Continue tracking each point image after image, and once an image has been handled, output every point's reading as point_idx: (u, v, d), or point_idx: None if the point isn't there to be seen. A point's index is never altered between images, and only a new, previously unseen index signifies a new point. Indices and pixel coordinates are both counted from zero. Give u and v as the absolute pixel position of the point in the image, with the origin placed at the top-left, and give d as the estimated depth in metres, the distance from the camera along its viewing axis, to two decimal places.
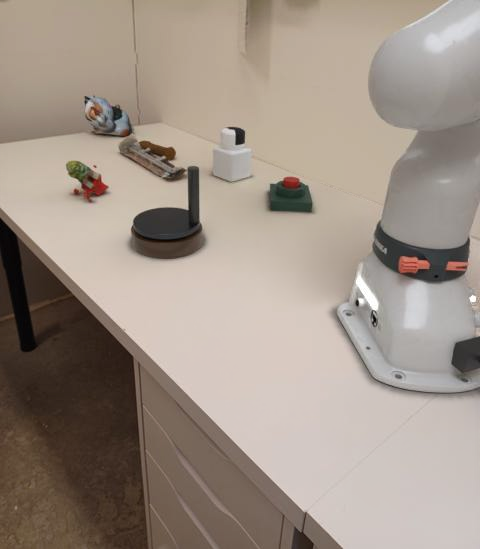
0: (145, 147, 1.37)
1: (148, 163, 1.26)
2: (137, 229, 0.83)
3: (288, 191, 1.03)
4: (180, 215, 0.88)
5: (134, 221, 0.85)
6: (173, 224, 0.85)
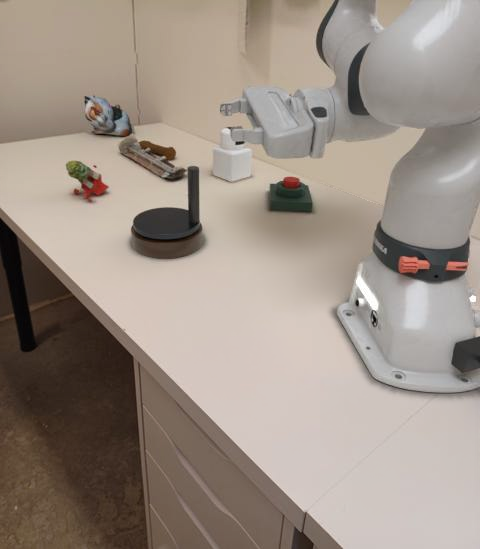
0: (145, 147, 1.37)
1: (148, 163, 1.26)
2: (137, 229, 0.83)
3: (288, 191, 1.03)
4: (180, 215, 0.88)
5: (134, 221, 0.85)
6: (173, 224, 0.85)
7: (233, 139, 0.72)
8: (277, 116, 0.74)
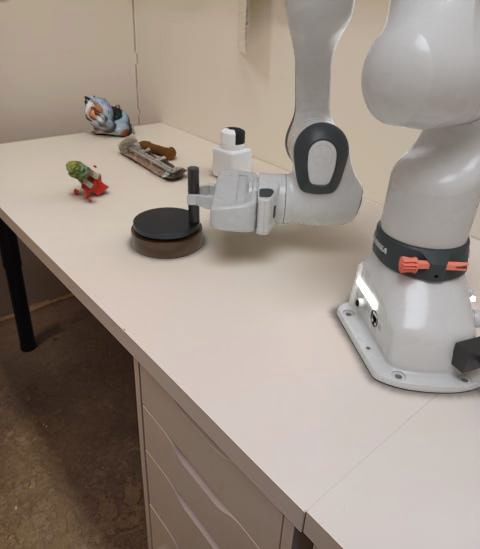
0: (145, 147, 1.37)
1: (148, 163, 1.26)
2: (137, 229, 0.83)
3: None
4: (180, 215, 0.88)
5: (134, 221, 0.85)
6: (173, 224, 0.85)
7: (188, 202, 0.82)
8: (231, 194, 0.80)
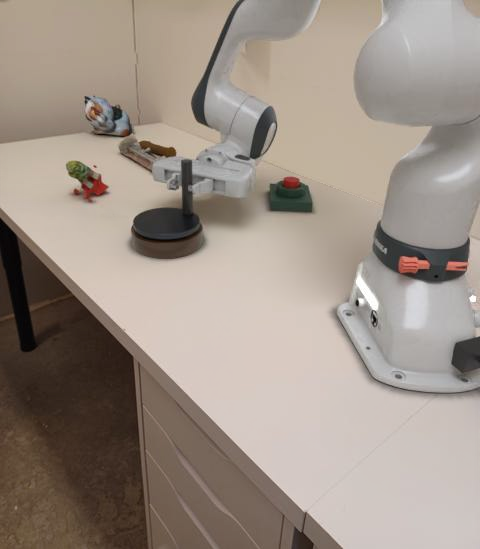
0: (145, 147, 1.37)
1: (148, 163, 1.26)
2: (160, 235, 0.81)
3: (288, 191, 1.03)
4: (168, 213, 0.89)
5: (145, 231, 0.82)
6: (179, 220, 0.86)
7: (195, 193, 0.85)
8: (216, 170, 0.90)
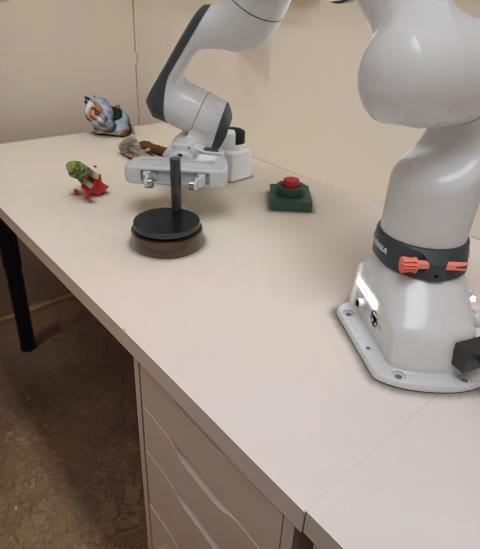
0: (145, 147, 1.37)
1: None
2: (178, 234, 0.82)
3: (288, 191, 1.03)
4: (159, 213, 0.88)
5: (161, 233, 0.81)
6: (179, 218, 0.87)
7: (196, 189, 0.87)
8: (194, 164, 0.93)
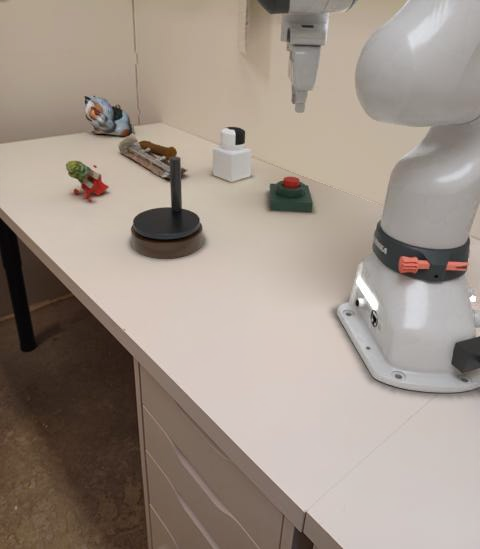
0: (146, 147, 1.37)
1: (148, 163, 1.26)
2: (178, 234, 0.82)
3: (288, 191, 1.03)
4: (159, 213, 0.88)
5: (161, 233, 0.81)
6: (179, 218, 0.87)
7: (302, 111, 0.92)
8: None
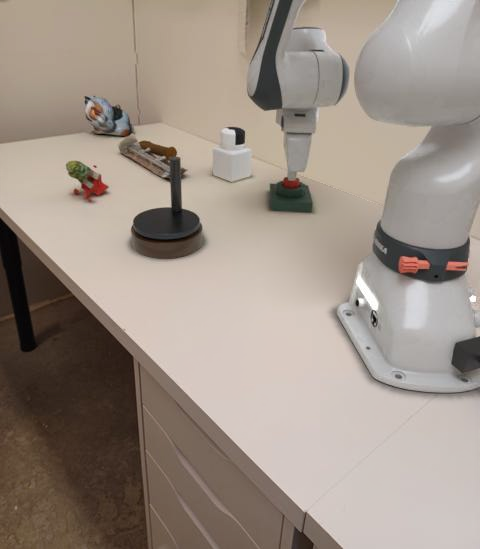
0: (146, 147, 1.37)
1: (148, 163, 1.26)
2: (178, 234, 0.82)
3: (288, 191, 1.03)
4: (159, 213, 0.88)
5: (161, 233, 0.81)
6: (179, 218, 0.87)
7: (294, 179, 1.04)
8: None
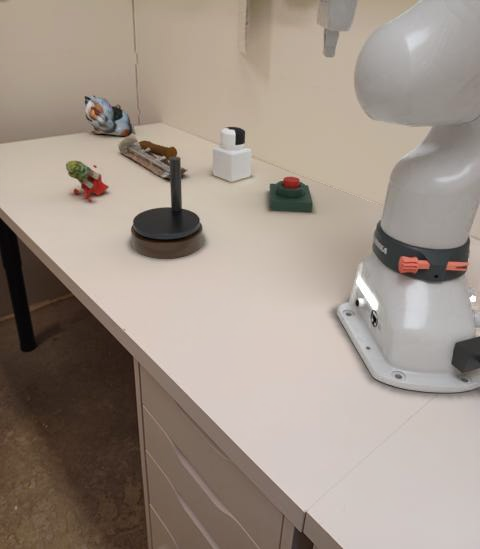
0: (146, 147, 1.37)
1: (148, 163, 1.26)
2: (178, 234, 0.82)
3: (288, 191, 1.03)
4: (159, 213, 0.88)
5: (161, 233, 0.81)
6: (179, 218, 0.87)
7: (332, 55, 0.85)
8: (326, 8, 0.79)
